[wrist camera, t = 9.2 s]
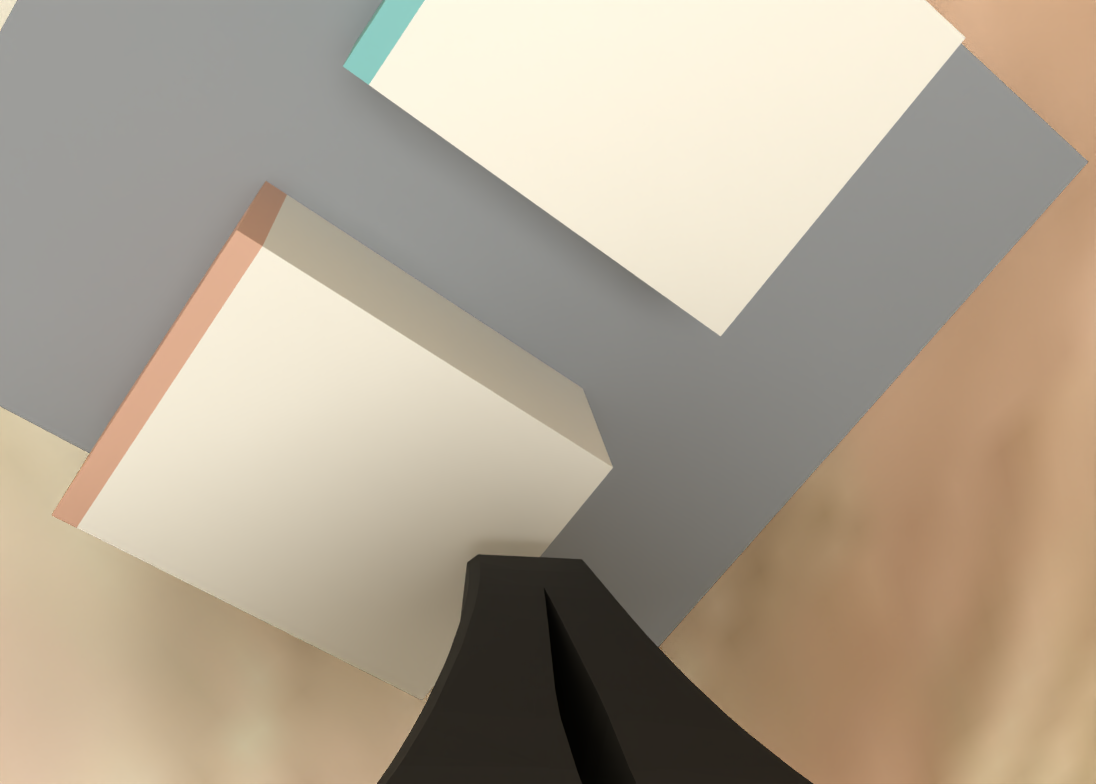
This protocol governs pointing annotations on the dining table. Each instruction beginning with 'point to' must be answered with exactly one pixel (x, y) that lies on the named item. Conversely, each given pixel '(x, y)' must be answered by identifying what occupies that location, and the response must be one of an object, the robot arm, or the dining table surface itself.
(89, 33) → the mat
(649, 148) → the slab
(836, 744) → the dining table surface
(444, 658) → the slab
